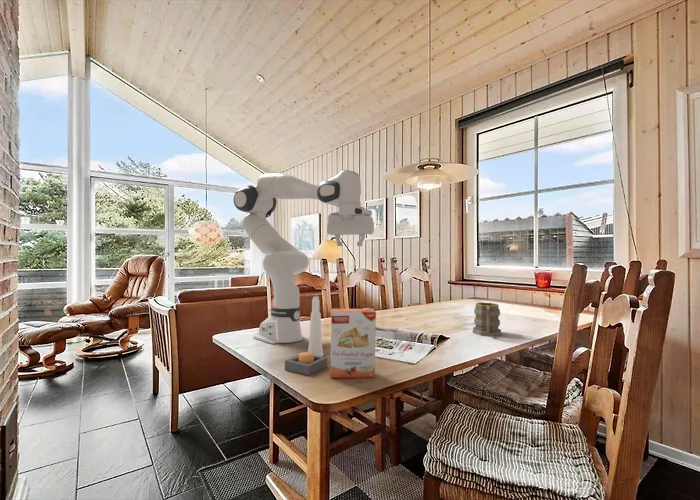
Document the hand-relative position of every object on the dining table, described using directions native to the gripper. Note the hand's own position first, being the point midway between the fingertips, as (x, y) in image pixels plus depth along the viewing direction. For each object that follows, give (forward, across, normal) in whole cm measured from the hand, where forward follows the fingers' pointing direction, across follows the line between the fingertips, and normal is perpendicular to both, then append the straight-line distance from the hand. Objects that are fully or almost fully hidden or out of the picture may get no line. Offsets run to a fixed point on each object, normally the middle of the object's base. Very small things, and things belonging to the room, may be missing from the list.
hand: (349, 246), depth 142 cm
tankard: (+41, +42, +56) cm, 81 cm away
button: (+40, 0, -27) cm, 49 cm away
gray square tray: (+41, 0, -27) cm, 49 cm away
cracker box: (+41, +16, -24) cm, 51 cm away
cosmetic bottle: (+41, -6, -14) cm, 44 cm away
